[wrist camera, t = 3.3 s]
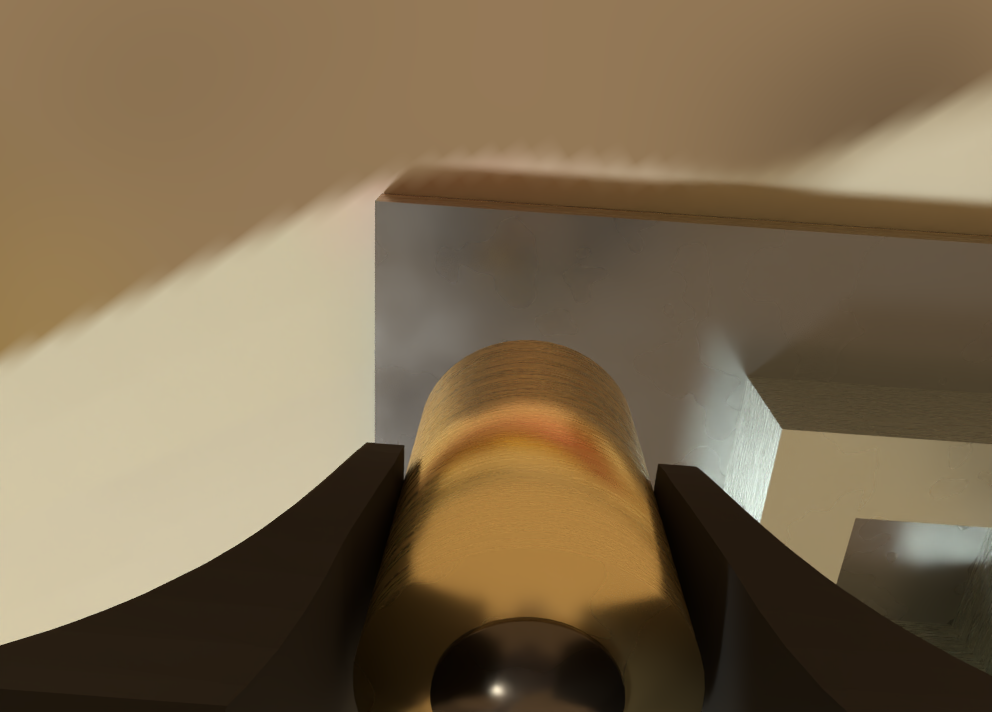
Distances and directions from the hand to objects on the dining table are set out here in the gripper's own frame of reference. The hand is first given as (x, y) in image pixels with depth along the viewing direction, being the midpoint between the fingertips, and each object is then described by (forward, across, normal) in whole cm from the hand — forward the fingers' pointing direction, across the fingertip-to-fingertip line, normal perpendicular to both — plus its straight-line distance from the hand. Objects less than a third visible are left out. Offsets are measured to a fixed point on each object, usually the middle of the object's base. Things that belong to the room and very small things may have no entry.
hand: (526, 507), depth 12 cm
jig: (+9, -6, +4) cm, 12 cm away
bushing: (+2, 0, 0) cm, 2 cm away
